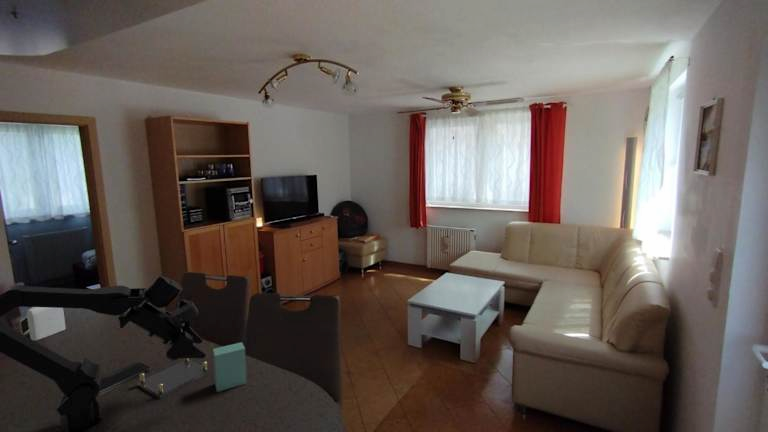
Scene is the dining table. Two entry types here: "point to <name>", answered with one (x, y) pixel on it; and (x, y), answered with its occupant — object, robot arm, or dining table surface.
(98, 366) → the robot arm
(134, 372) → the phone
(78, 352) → the dining table surface
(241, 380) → the teal rectangular block
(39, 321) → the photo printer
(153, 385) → the chassis
